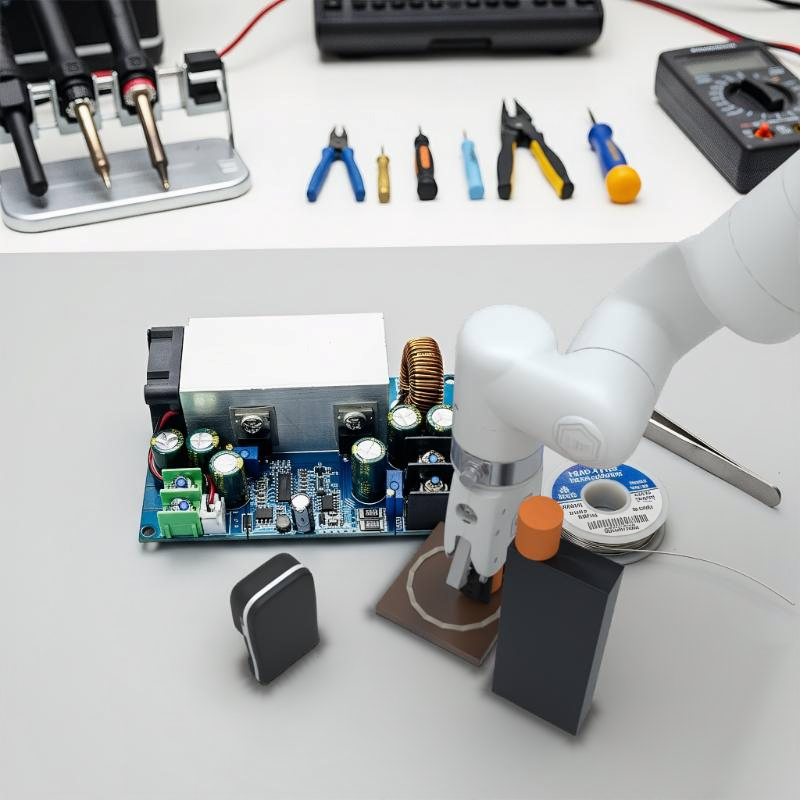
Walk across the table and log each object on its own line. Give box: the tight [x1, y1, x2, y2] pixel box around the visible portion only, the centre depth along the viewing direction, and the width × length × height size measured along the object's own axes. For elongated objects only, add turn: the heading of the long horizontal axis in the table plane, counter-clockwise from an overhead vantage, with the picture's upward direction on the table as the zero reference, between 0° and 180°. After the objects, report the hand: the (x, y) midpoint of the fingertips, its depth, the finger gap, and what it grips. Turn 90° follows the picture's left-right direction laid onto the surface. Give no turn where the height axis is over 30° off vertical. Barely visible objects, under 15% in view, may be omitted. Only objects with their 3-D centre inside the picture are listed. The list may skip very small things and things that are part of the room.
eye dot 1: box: [471, 560, 503, 593], centre depth 92 cm, size 3×3×4 cm
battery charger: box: [229, 552, 320, 685], centre depth 85 cm, size 7×4×11 cm, turn 134°
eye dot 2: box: [515, 495, 565, 561], centre depth 71 cm, size 3×3×4 cm
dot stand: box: [491, 535, 626, 736], centre depth 79 cm, size 8×3×20 cm, turn 58°
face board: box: [375, 521, 504, 668], centre depth 93 cm, size 11×12×1 cm
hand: (484, 579), depth 93 cm, fingers closed on eye dot 1, 3 cm apart
